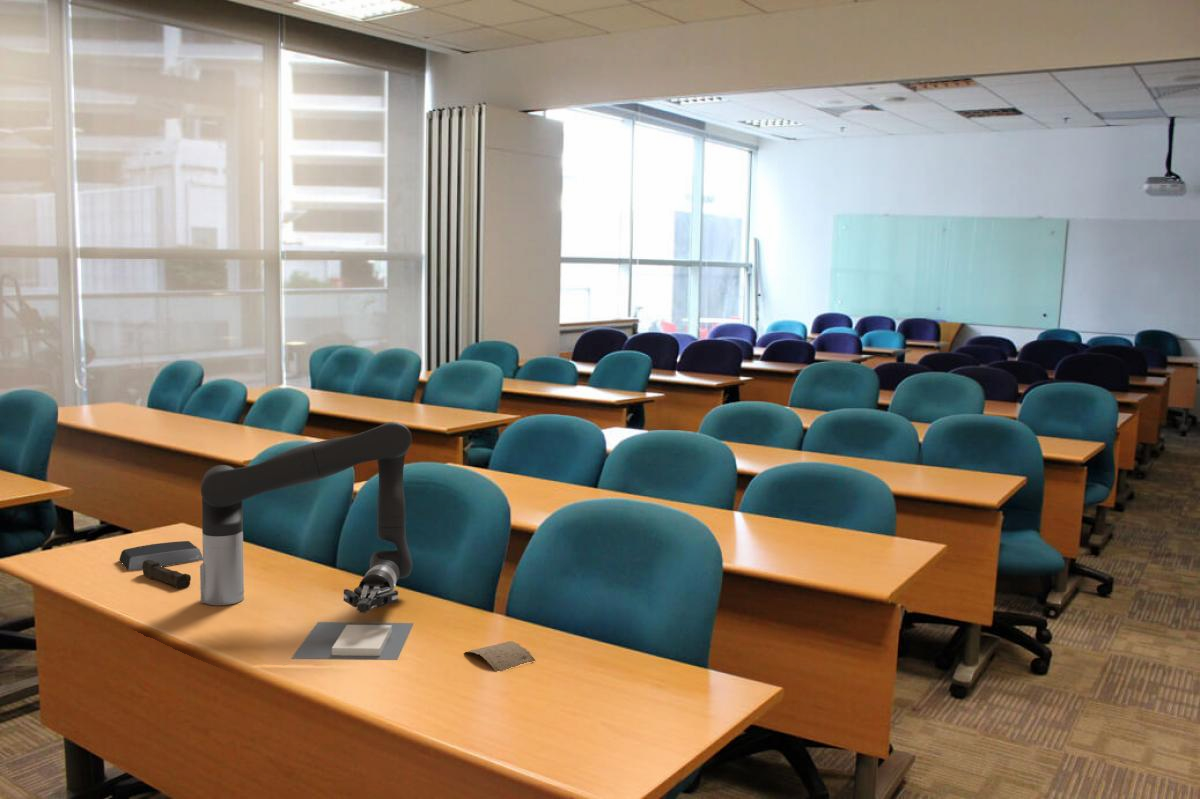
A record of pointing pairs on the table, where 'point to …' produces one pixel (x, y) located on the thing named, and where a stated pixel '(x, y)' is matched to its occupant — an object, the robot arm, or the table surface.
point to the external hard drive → (160, 554)
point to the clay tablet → (504, 655)
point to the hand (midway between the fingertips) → (362, 608)
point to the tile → (362, 640)
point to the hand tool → (165, 574)
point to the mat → (329, 632)
